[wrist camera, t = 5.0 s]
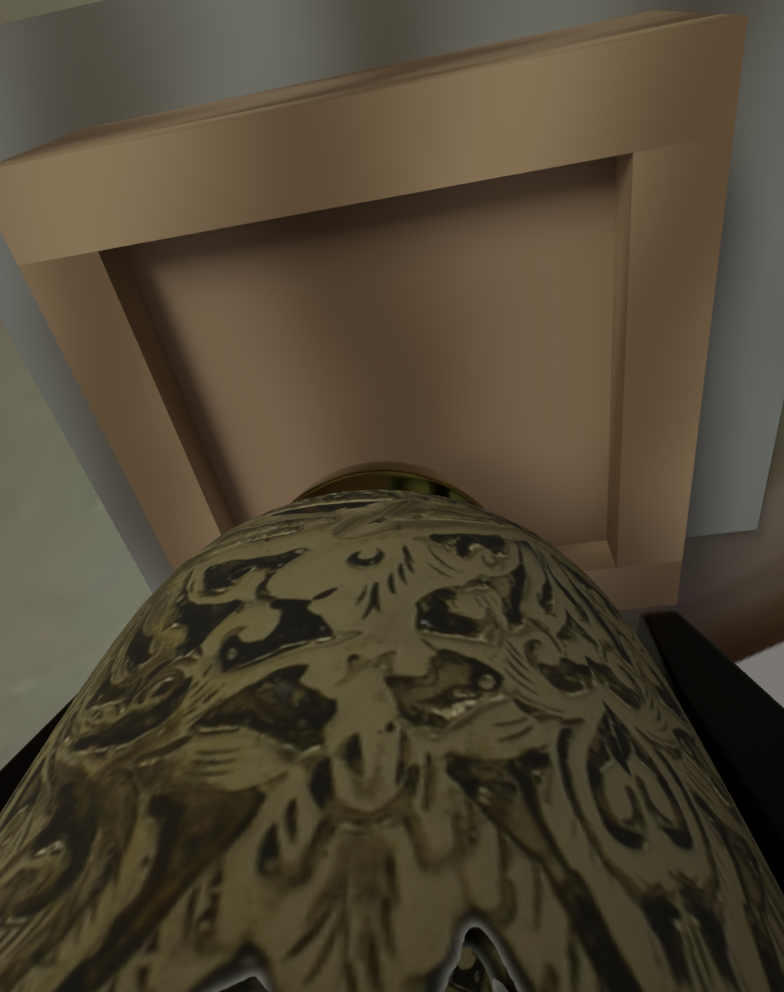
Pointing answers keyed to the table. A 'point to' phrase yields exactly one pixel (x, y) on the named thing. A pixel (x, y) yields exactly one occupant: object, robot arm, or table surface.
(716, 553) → the table surface
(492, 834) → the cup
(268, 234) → the wooden square tray
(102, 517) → the table surface
